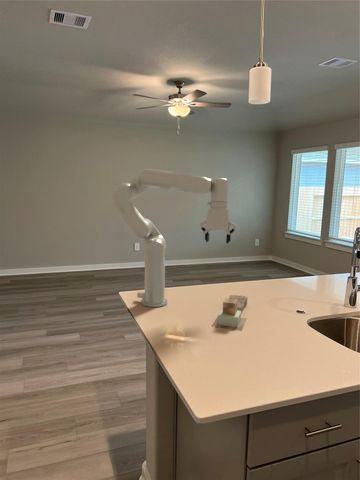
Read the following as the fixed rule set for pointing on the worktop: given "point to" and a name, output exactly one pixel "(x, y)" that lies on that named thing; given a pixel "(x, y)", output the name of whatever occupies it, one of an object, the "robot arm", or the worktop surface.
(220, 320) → the base block
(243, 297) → the brick
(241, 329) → the baseplate
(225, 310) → the cherry block
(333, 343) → the worktop surface
